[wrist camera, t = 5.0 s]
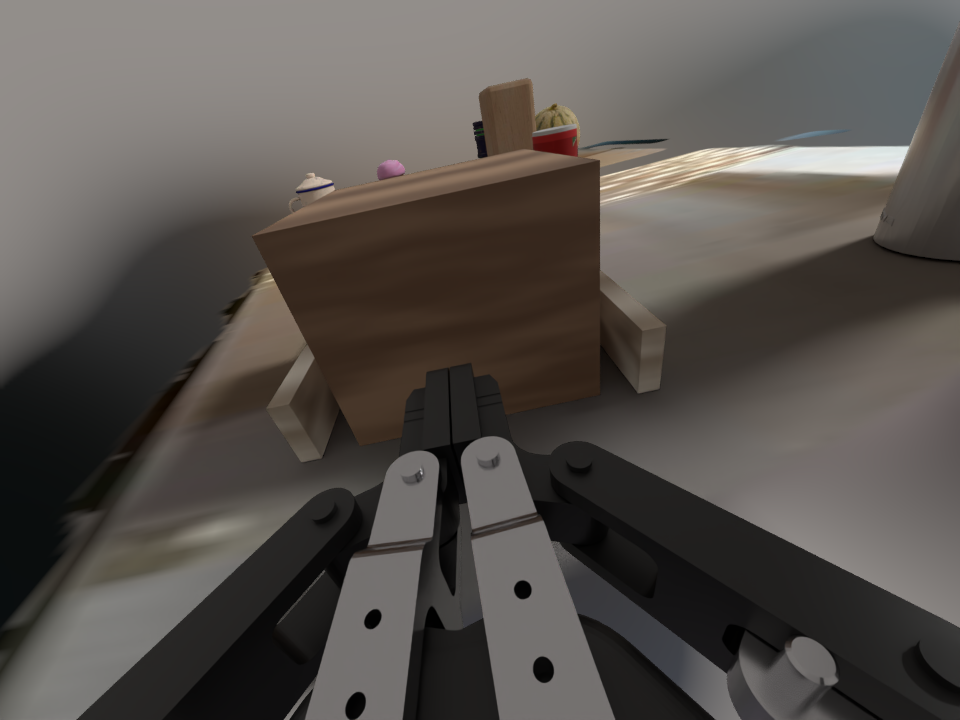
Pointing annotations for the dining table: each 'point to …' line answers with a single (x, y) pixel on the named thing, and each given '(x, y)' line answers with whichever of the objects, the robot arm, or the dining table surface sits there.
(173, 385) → the dining table surface
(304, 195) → the teacup with lid
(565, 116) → the cantaloupe
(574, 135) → the canned food
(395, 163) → the cupcake
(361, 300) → the walnut block
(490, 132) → the block
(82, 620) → the dining table surface
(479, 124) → the navy striped cylinder
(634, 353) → the tray
